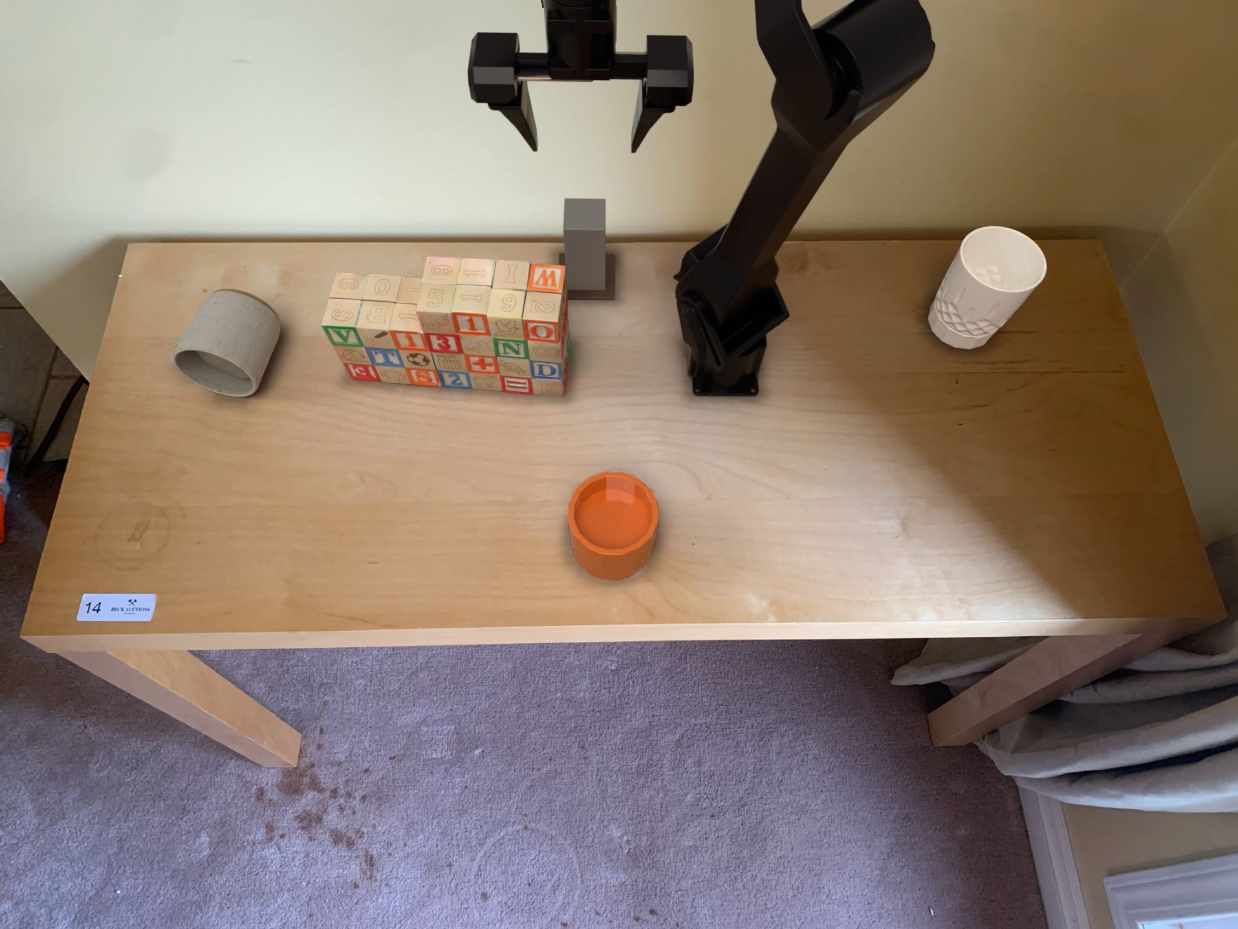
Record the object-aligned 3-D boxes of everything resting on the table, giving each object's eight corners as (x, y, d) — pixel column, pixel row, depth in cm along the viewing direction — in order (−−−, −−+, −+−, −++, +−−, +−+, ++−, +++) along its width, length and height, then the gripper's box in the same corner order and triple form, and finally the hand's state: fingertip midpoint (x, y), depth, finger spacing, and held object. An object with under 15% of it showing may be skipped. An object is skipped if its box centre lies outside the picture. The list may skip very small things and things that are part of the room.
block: (605, 261, 84) (605, 198, 76) (605, 290, 82) (605, 229, 74) (568, 260, 84) (564, 197, 76) (567, 290, 82) (563, 229, 74)
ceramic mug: (296, 333, 79) (265, 284, 73) (269, 401, 76) (234, 356, 69) (196, 322, 80) (156, 272, 73) (165, 390, 76) (120, 343, 70)
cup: (653, 502, 72) (657, 472, 66) (654, 580, 68) (659, 555, 63) (572, 502, 72) (569, 471, 66) (570, 579, 68) (566, 554, 62)
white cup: (1008, 314, 82) (1058, 248, 73) (982, 367, 79) (1030, 305, 70) (938, 281, 84) (978, 213, 75) (909, 332, 81) (947, 267, 72)
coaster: (614, 255, 85) (614, 253, 84) (614, 300, 82) (614, 297, 82) (559, 255, 85) (559, 252, 84) (557, 299, 82) (557, 297, 82)
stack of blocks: (349, 382, 77) (307, 303, 66) (363, 330, 80) (325, 246, 69) (565, 397, 77) (558, 321, 66) (572, 345, 79) (566, 263, 68)
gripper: (696, -76, 63) (680, 92, 77) (466, -80, 63) (491, 89, 77) (702, 11, 58) (684, 174, 72) (453, 7, 58) (482, 171, 72)
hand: (584, 149), depth 74 cm, fingers open, 9 cm apart
